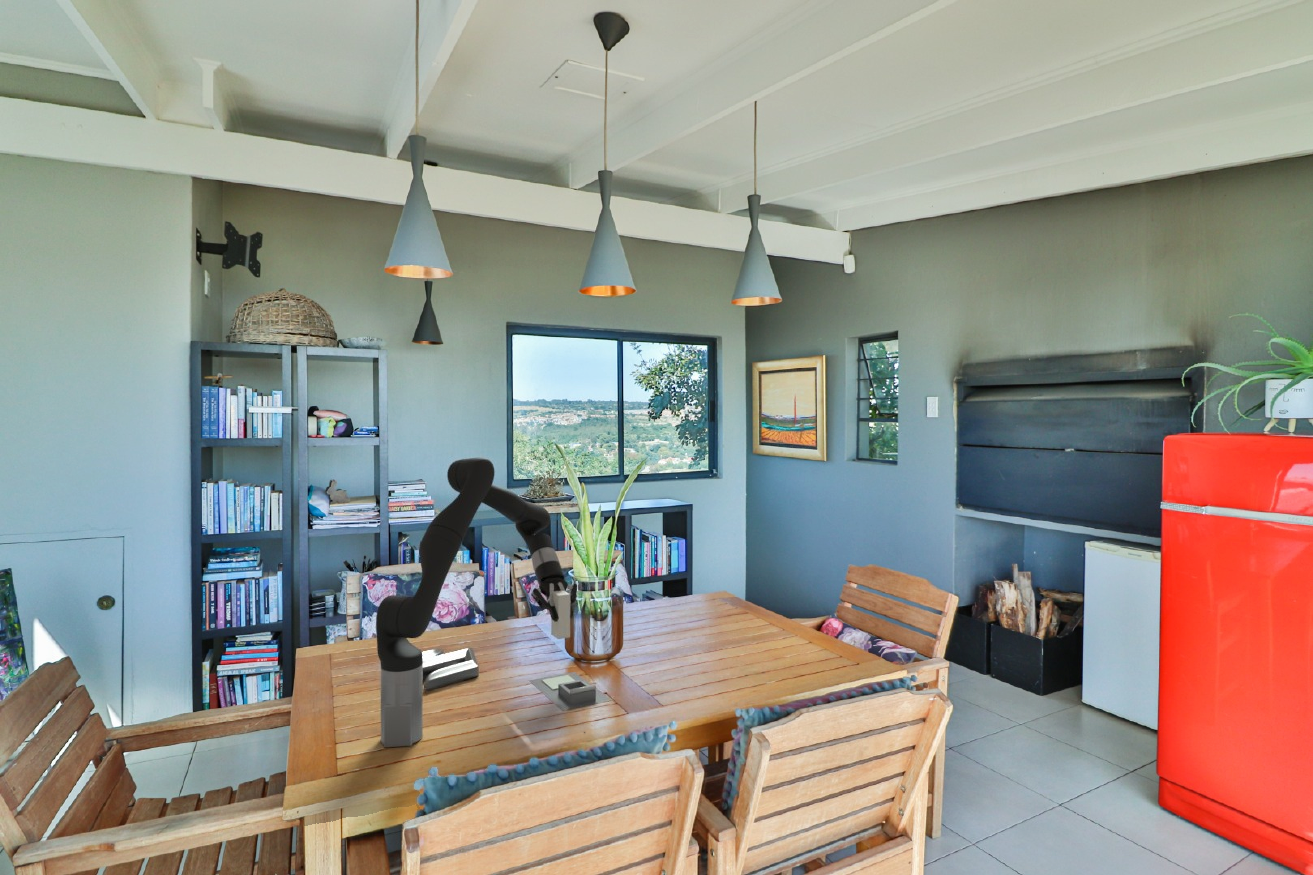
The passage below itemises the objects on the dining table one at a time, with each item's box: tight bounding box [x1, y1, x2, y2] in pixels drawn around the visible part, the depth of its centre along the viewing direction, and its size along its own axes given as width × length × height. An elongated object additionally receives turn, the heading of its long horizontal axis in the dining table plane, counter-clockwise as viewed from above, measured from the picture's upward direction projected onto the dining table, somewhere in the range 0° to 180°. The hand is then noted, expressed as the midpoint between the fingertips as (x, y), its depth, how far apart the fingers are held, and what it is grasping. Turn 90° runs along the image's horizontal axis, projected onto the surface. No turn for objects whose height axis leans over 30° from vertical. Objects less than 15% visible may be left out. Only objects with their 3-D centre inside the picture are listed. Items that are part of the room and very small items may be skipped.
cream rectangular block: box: [550, 591, 571, 640], centre depth 200 cm, size 4×5×12 cm
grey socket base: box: [528, 671, 613, 712], centre depth 196 cm, size 14×24×5 cm, turn 31°
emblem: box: [421, 647, 480, 691], centre depth 211 cm, size 28×5×28 cm
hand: (563, 618), depth 199 cm, fingers closed on cream rectangular block, 3 cm apart
